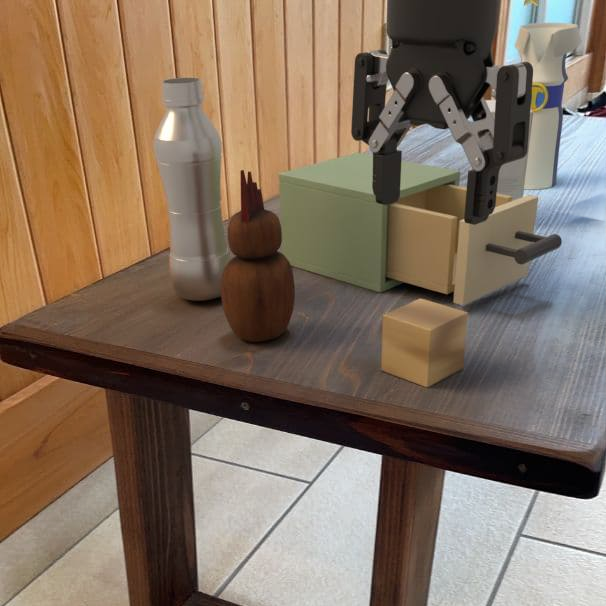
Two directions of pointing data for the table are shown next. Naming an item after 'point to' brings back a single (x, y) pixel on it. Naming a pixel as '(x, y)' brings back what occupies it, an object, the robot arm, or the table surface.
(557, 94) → the spray bottle
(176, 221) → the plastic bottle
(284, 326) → the wooden figurine
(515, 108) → the robot arm
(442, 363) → the block
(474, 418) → the table surface
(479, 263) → the drawer
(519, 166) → the small box
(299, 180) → the cabinet
